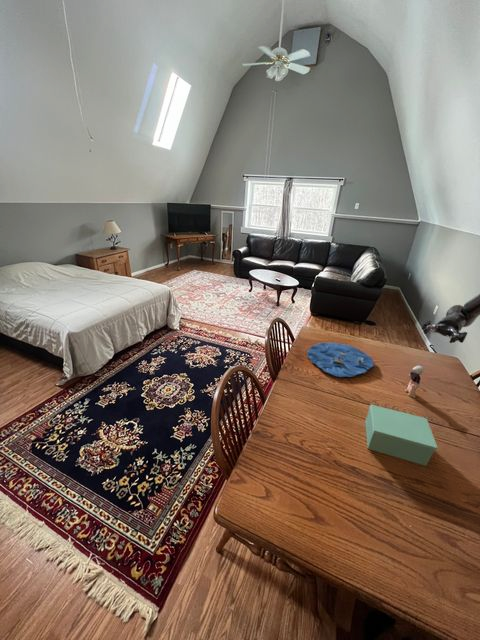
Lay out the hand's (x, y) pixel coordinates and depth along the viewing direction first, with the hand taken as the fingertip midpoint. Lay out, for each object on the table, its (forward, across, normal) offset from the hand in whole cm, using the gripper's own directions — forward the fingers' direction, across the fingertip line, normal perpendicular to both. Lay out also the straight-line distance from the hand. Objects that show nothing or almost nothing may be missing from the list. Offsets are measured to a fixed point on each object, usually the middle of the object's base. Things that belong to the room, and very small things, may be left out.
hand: (438, 336), depth 103 cm
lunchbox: (+41, +6, +22) cm, 47 cm away
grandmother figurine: (+11, 0, +22) cm, 25 cm away
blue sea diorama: (+13, -30, +22) cm, 39 cm away
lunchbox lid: (+41, +6, +15) cm, 44 cm away
